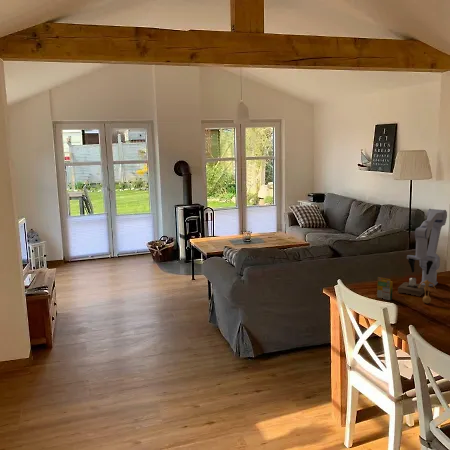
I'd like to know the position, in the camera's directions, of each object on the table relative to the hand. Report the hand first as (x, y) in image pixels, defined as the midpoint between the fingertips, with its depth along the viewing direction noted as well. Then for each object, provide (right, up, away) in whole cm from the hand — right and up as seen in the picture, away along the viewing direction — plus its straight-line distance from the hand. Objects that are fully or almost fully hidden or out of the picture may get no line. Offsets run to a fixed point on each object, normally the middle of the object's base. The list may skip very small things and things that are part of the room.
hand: (420, 273), depth 260 cm
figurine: (-4, -14, -16) cm, 22 cm away
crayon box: (-23, -13, -8) cm, 27 cm away
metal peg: (-4, -10, +1) cm, 11 cm away
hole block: (-4, -10, +1) cm, 11 cm away
